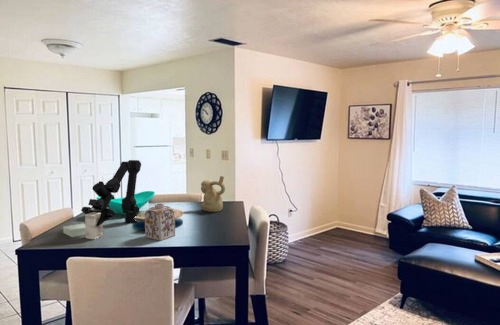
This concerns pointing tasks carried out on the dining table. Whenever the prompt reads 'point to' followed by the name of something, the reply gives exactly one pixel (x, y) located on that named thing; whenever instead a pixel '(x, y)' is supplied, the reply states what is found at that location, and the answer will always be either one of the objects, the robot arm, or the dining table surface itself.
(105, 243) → the dining table surface
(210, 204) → the ceramic vessel
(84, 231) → the sage block
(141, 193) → the table top decor
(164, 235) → the decorative jar
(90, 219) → the cream block
